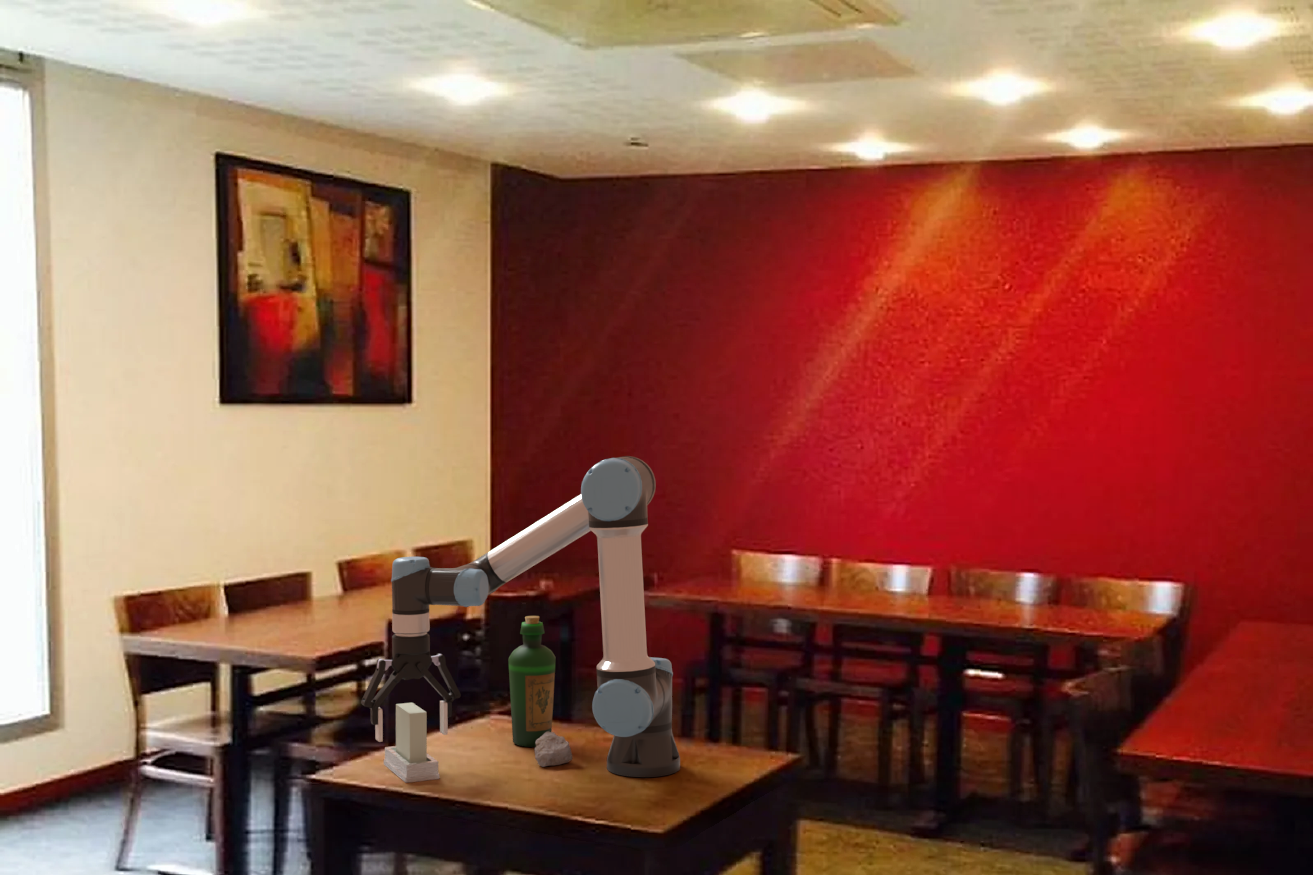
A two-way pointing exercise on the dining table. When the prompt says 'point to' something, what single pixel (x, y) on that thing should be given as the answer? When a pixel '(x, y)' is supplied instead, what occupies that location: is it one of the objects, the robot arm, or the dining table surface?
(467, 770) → the dining table surface
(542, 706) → the bottle
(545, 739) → the stone
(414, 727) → the rectangular block
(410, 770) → the shallow open box
